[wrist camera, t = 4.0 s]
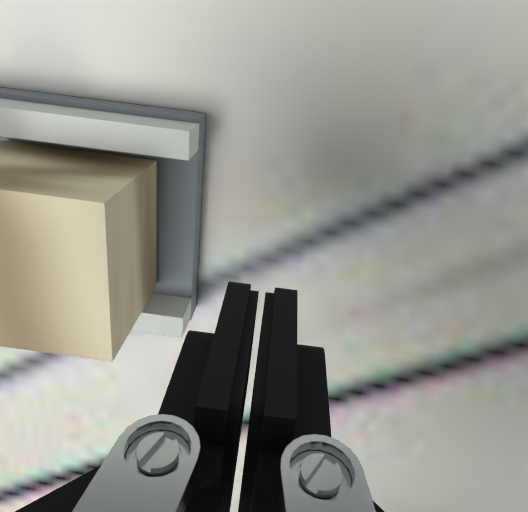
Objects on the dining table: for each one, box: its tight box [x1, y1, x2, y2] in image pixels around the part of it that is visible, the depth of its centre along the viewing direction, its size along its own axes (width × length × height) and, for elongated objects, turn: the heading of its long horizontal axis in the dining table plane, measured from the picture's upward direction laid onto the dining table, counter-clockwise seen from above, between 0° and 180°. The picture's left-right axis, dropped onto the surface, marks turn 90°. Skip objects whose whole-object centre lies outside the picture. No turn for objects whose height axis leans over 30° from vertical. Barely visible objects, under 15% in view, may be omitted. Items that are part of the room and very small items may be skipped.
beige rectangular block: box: [0, 140, 157, 362], centre depth 16 cm, size 6×9×6 cm
